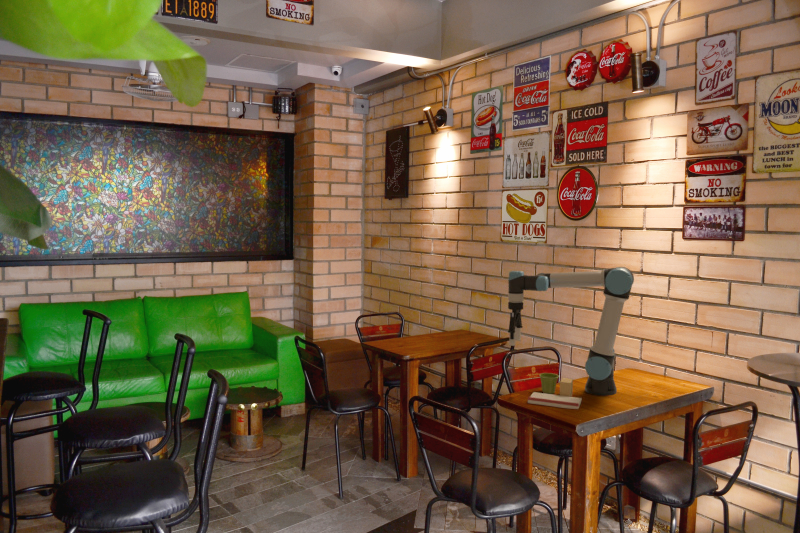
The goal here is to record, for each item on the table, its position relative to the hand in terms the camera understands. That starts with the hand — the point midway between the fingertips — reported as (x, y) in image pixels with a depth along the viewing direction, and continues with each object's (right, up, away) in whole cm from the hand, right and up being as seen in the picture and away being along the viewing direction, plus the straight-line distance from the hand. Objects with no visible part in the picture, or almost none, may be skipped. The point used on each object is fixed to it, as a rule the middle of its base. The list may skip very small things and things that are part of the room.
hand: (515, 343), depth 302 cm
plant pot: (+16, -25, -3) cm, 30 cm away
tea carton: (+23, -25, -10) cm, 35 cm away
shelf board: (+15, -26, -19) cm, 35 cm away
